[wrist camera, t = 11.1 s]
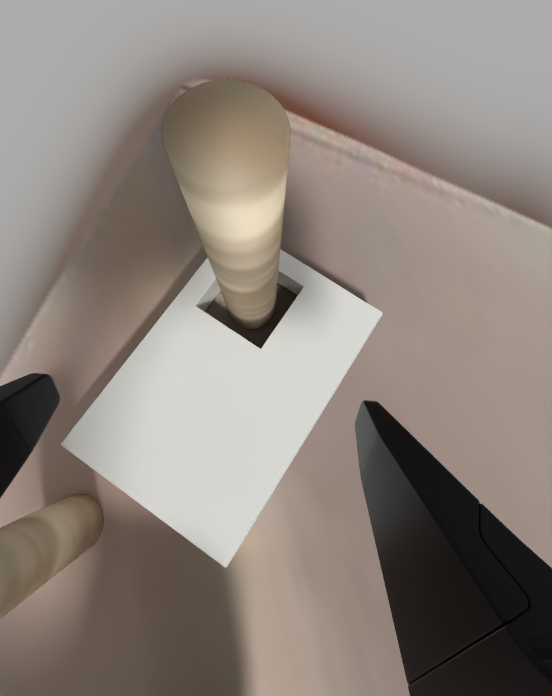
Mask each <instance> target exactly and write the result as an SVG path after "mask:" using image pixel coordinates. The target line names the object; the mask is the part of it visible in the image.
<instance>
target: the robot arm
mask: <svg viewBox="0 0 552 696" xmlns="http://www.w3.org/2000/svg"><path fill="white" fill-rule="evenodd" d="M59 401H60V395H59V393H58V390H57V388H56V386H55V383H54V381H53V379H52V377H51V376H50V375H48V374H39V373H33V374H29V375H27V376H24V377H22V378H19V379H17V380H14V381H12V382H10V383H7V384H5V385H2V386H0V498H1V496H2V495H3V493H4V492H5V491H6V489H7V488H8V486H9V485H10V483H11V482H12V480H13V479H14V477H15V476H16V475H17V473H18V472H19V470H20V469H21V467H22V466H23V464H24V463H25V461H26V460H27V458H28V457H29V455H30V454H31V452H32V451H33V449H34V447H35V446H36V444H37V442H38V440H39V439H40V437H41V435H42V433H43V431H44V429H45V428H46V426H47V424H48V422H49V420H50V419H51V417H52V415H53V413H54V411H55V410H56V408H57V406H58V404H59ZM355 431H356V440H357V449H358V458H359V467H360V475H361V480H362V485H363V490H364V494H365V499H366V503H367V507H368V512H369V516H370V521H371V525H372V529H373V534H374V538H375V543H376V547H377V551H378V556H379V560H380V565H381V569H382V573H383V578H384V582H385V587H386V591H387V595H388V600H389V604H390V609H391V613H392V617H393V622H394V626H395V631H396V635H397V639H398V644H399V648H400V653H401V657H402V661H403V666H404V670H405V675H406V679H407V683H408V684H409V685H408V689H409V693H410V696H552V568H551V567H550V566H549V565H547V564H546V563H545V562H544V561H543V560H542V559H541V558H540V557H539V556H537V555H536V554H535V553H534V552H533V551H532V550H531V549H530V548H528V547H527V546H526V545H525V544H524V543H523V542H522V541H521V540H519V539H518V538H517V537H516V536H515V535H514V534H513V533H512V532H511V531H510V530H509V529H508V528H507V527H506V526H505V525H504V524H503V523H502V522H500V521H499V520H498V519H497V518H496V517H495V516H494V515H493V514H492V513H491V512H490V511H489V510H488V509H487V508H486V507H485V506H484V505H483V504H479V500H478V499H477V498H476V497H475V496H474V495H473V494H472V493H470V492H469V491H468V490H467V489H466V488H465V487H464V486H463V485H462V484H461V483H460V482H459V481H458V480H457V479H456V478H455V477H454V476H453V475H452V474H451V473H450V472H449V471H448V470H447V469H446V468H445V467H444V466H443V465H442V464H441V463H440V462H439V461H438V460H437V459H436V458H435V457H434V456H433V455H432V454H431V453H430V452H429V451H428V450H426V449H425V448H424V447H423V446H422V445H421V444H420V443H419V442H418V441H417V440H416V439H415V438H414V437H413V436H412V435H411V434H410V433H409V432H408V431H407V430H406V429H405V428H404V427H403V426H402V425H401V424H400V423H399V422H398V421H397V420H396V419H395V418H394V417H393V416H392V415H391V414H390V413H389V412H388V411H387V410H386V409H385V408H384V407H383V406H381V405H380V404H379V403H378V402H377V401H368V400H364V401H362V403H361V405H360V408H359V411H358V414H357V417H356V421H355Z"/></svg>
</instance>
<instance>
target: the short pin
mask: <svg viewBox="0 0 552 696" xmlns="http://www.w3.org/2000/svg"><path fill="white" fill-rule="evenodd" d="M102 527H103V513H102V510H101V507H100V506H99V504H98V503H97V502H96V501H95V500H94V499H93V498H91V497H89V496H86V495H81V494H80V495H72V496H69V497H67V498H65V499H62V500H60V501H58V502H56V503H54V504H51V505H49V506H47V507H45V508H43V509H41V510H38V511H36V512H34V513H32V514H30V515H27V516H25V517H23V518H21V519H19V520H16V521H14V522H12V523H10V524H8V525H5V526H3V527H1V528H0V619H1V618H2V617H3V616H4V615H6V614H7V613H8V612H9V611H11V610H12V609H13V608H14V607H16V606H17V605H18V604H19V603H21V602H22V601H23V600H24V599H26V598H27V597H28V596H29V595H31V594H32V593H33V592H34V591H36V590H37V589H38V588H39V587H41V586H42V585H43V584H44V583H46V582H47V581H48V580H49V579H51V578H52V577H53V576H54V575H56V574H57V573H58V572H60V571H61V570H62V569H63V568H65V567H66V566H67V565H68V564H70V563H71V562H72V561H73V560H75V559H76V558H77V557H78V556H80V555H81V554H82V553H83V552H85V551H86V550H87V549H88V548H90V547H91V546H92V545H93V544H94V543H95V542H96V540H97V539H98V537H99V536H100V533H101V531H102Z"/></svg>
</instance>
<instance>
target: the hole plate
mask: <svg viewBox="0 0 552 696" xmlns="http://www.w3.org/2000/svg"><path fill="white" fill-rule="evenodd" d="M277 283H279V284H280V285H282V286H284V287H285V288H287V289H288V290H290V291H291V292H293V293H295V294H296V295H298V296H297V297H296V299H295V300H294V302H293V303H292V305H291V306H290V308H289V309H288V310H287V312H286V313H285V315H284V316H283V318H282V319H281V321H280V322H279V324H278V325H277V326H276V328H275V329H274V331H273V332H272V334H271V335H270V337H269V338H268V339H267V341H266V342H265V344H264V345H263V347H262V348H261V349H260V348H258V347H257V346H255V345H254V344H252V343H251V342H249V341H248V340H246V339H245V338H243V337H242V336H240V335H239V334H237V333H236V332H234V331H233V330H231V329H230V328H228V327H227V326H225V325H224V324H222V323H221V322H219V321H218V320H216V319H215V318H213V317H212V316H210V315H209V314H207V313H206V312H205V310H206V309H207V308H208V306H209V305H210V304H211V303H212V301H213V300H214V299H215V297H216V296H217V295H218V293H219V292H220V291H221V290H220V288H219V285H218V282H217V280H216V277H215V275H214V272H213V270H212V267H211V265H210V262H209V260H208V257H207V259H206V260H205V261H204V263H203V264H202V265H201V266H200V268H199V269H198V270H197V271H196V273H195V274H194V275H193V277H192V278H191V279H190V280H189V282H188V283H187V284H186V285H185V287H184V288H183V289H182V290H181V292H180V293H179V294H178V296H177V297H176V298H175V299H174V301H173V302H172V303H171V304H170V306H169V307H168V308H167V310H166V311H165V312H164V313H163V315H162V316H161V317H160V318H159V320H158V321H157V322H156V324H155V325H154V326H153V327H152V329H151V330H150V331H149V332H148V334H147V335H146V336H145V338H144V339H143V340H142V341H141V343H140V344H139V345H138V346H137V348H136V349H135V350H134V351H133V353H132V354H131V355H130V357H129V358H128V359H127V360H126V362H125V363H124V364H123V365H122V367H121V368H120V369H119V371H118V372H117V373H116V374H115V376H114V377H113V378H112V379H111V381H110V382H109V383H108V385H107V386H106V387H105V388H104V390H103V391H102V392H101V393H100V395H99V396H98V397H97V399H96V400H95V401H94V402H93V404H92V405H91V406H90V407H89V409H88V410H87V411H86V412H85V414H84V415H83V416H82V418H81V419H80V420H79V421H78V423H77V424H76V425H75V426H74V428H73V429H72V430H71V432H70V433H69V434H68V435H67V437H66V438H65V439H64V440H63V442H62V443H61V444H60V445H61V446H63V447H64V448H65V449H67V450H68V451H70V452H71V453H72V454H74V455H75V456H76V457H78V458H79V459H80V460H82V461H83V462H84V463H86V464H87V465H88V466H90V467H91V468H92V469H94V470H95V471H96V472H98V473H99V474H100V475H102V476H103V477H104V478H106V479H107V480H108V481H110V482H111V483H112V484H114V485H115V486H116V487H118V488H119V489H120V490H122V491H123V492H125V493H126V494H127V495H129V496H130V497H131V498H133V499H134V500H135V501H137V502H138V503H139V504H141V505H142V506H143V507H145V508H146V509H147V510H149V511H150V512H151V513H153V514H154V515H155V516H157V517H158V518H159V519H161V520H162V521H163V522H165V523H166V524H167V525H169V526H170V527H171V528H173V529H174V530H176V531H177V532H178V533H180V534H181V535H182V536H184V537H185V538H186V539H188V540H189V541H190V542H192V543H193V544H194V545H196V546H197V547H198V548H200V549H201V550H202V551H204V552H205V553H206V554H208V555H209V556H210V557H212V558H213V559H214V560H216V561H217V562H218V563H220V564H221V565H222V566H224V567H225V568H226V567H227V566H228V564H229V562H230V561H231V559H232V558H233V556H234V554H235V553H236V551H237V549H238V548H239V546H240V545H241V543H242V541H243V540H244V538H245V536H246V535H247V533H248V532H249V530H250V528H251V527H252V525H253V523H254V522H255V520H256V519H257V517H258V515H259V514H260V512H261V510H262V509H263V507H264V506H265V504H266V502H267V501H268V499H269V497H270V496H271V494H272V493H273V491H274V489H275V488H276V486H277V485H278V483H279V481H280V480H281V478H282V476H283V475H284V473H285V472H286V470H287V468H288V467H289V465H290V463H291V462H292V460H293V459H294V457H295V455H296V454H297V452H298V450H299V449H300V447H301V446H302V444H303V442H304V441H305V439H306V437H307V436H308V434H309V433H310V431H311V429H312V428H313V426H314V424H315V423H316V421H317V420H318V418H319V416H320V415H321V413H322V411H323V410H324V408H325V407H326V405H327V403H328V402H329V400H330V398H331V397H332V395H333V394H334V392H335V390H336V389H337V387H338V385H339V384H340V382H341V381H342V379H343V377H344V376H345V374H346V372H347V371H348V369H349V368H350V366H351V364H352V363H353V361H354V359H355V358H356V356H357V355H358V353H359V351H360V350H361V348H362V346H363V345H364V343H365V342H366V340H367V338H368V337H369V335H370V333H371V332H372V330H373V329H374V327H375V325H376V324H377V322H378V320H379V319H380V317H381V316H382V314H383V313H382V312H380V311H379V310H377V309H376V308H374V307H372V306H371V305H369V304H368V303H366V302H364V301H363V300H361V299H360V298H358V297H356V296H355V295H353V294H351V293H350V292H348V291H347V290H345V289H343V288H342V287H340V286H339V285H337V284H335V283H334V282H332V281H331V280H329V279H327V278H326V277H324V276H323V275H321V274H319V273H318V272H316V271H315V270H313V269H311V268H310V267H308V266H307V265H305V264H303V263H302V262H300V261H299V260H297V259H295V258H294V257H292V256H291V255H289V254H287V253H286V252H284V251H283V250H281V249H280V259H279V270H278V281H277Z"/></svg>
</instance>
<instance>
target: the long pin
mask: <svg viewBox="0 0 552 696" xmlns="http://www.w3.org/2000/svg"><path fill="white" fill-rule="evenodd" d="M290 135H291V131H290V124H289V120H288V117H287V115H286V112H285V111H284V109H283V107H282V106H281V105H280V104H279V102H278V101H277V100H276V99H275V98H274V97H273V96H272V95H271V94H269V93H268V92H266V91H265V90H263V89H261V88H260V87H257V86H255V85H253V84H250V83H246V82H243V81H237V80H216V81H210V82H206V83H203V84H200V85H197V86H195V87H193V88H191V89H189V90H188V91H186V92H185V93H183V94H182V95H181V96H180V97H178V98H177V99H176V101H175V102H174V103H173V104H172V105H171V107H170V108H169V110H168V112H167V114H166V116H165V119H164V122H163V128H162V138H163V144H164V147H165V150H166V153H167V155H168V158H169V160H170V163H171V165H172V168H173V170H174V173H175V176H176V178H177V181H178V183H179V186H180V188H181V191H182V193H183V196H184V198H185V201H186V204H187V206H188V209H189V211H190V214H191V216H192V219H193V221H194V224H195V226H196V229H197V232H198V234H199V237H200V239H201V242H202V244H203V247H204V249H205V252H206V254H207V257H208V260H209V262H210V265H211V267H212V270H213V272H214V275H215V277H216V280H217V282H218V285H219V288H220V290H221V293H222V295H223V298H224V300H225V303H226V305H227V308H228V310H229V313H230V315H231V317H232V319H233V320H234V322H235V323H237V324H238V325H239V326H241V327H243V328H247V329H257V328H260V327H263V326H264V325H266V324H267V323H268V322H269V321H270V320H271V319H272V317H273V315H274V312H275V303H276V292H277V281H278V270H279V259H280V248H281V237H282V226H283V215H284V203H285V192H286V181H287V170H288V159H289V148H290Z"/></svg>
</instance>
